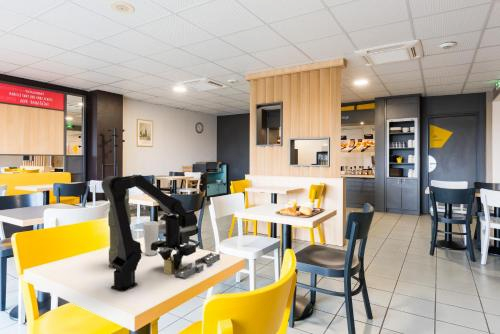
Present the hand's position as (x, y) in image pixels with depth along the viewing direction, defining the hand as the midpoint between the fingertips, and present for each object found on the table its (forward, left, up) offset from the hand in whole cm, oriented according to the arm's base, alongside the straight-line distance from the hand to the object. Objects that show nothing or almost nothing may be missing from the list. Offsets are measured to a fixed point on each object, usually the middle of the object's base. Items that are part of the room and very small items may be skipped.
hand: (173, 268), depth 123 cm
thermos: (-4, +25, -1) cm, 25 cm away
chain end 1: (+1, -7, -1) cm, 7 cm away
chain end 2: (+15, -7, -1) cm, 17 cm away
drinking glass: (+13, +24, -1) cm, 27 cm away
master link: (0, 0, -1) cm, 1 cm away
